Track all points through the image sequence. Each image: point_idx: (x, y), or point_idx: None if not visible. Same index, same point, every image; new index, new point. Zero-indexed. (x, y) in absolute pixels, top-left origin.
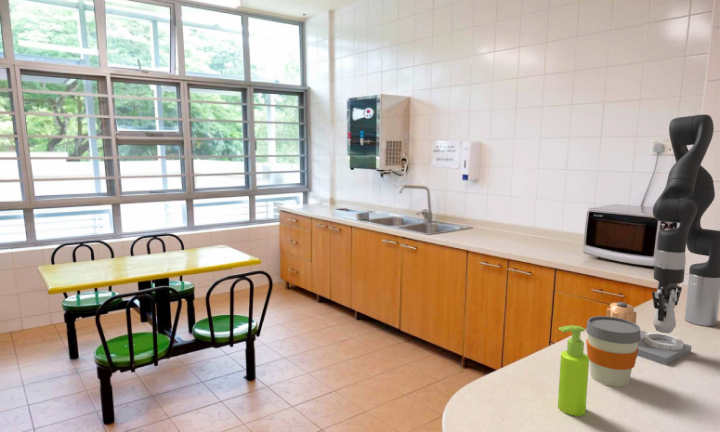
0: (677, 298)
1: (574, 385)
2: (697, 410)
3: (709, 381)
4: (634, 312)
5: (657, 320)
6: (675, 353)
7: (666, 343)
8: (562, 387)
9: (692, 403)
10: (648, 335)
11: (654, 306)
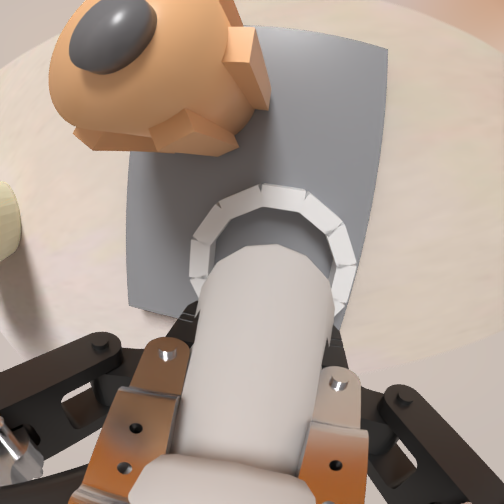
0: (380, 488)
1: None
2: (38, 355)
3: None
4: (164, 129)
5: (200, 295)
6: None
7: None
8: None
9: (45, 351)
10: (265, 206)
11: (80, 343)
